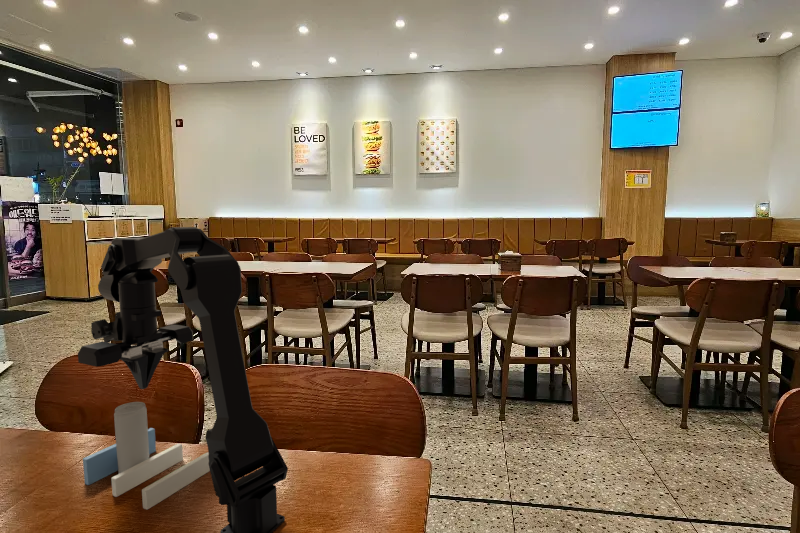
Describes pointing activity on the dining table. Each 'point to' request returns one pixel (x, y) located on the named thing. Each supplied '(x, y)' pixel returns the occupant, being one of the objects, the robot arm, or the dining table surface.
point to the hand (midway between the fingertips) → (143, 388)
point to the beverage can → (131, 435)
